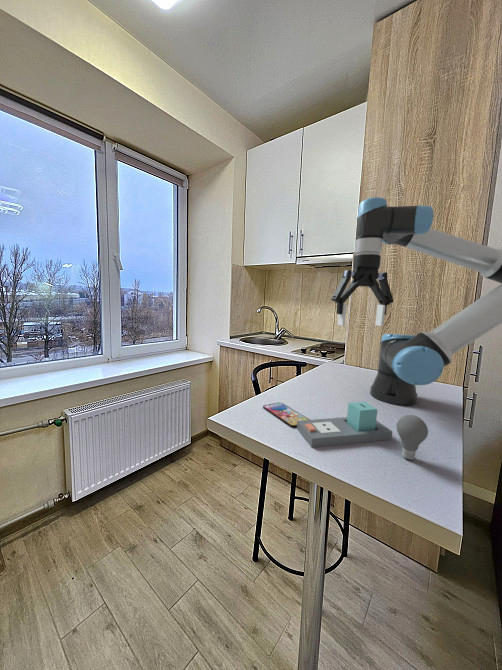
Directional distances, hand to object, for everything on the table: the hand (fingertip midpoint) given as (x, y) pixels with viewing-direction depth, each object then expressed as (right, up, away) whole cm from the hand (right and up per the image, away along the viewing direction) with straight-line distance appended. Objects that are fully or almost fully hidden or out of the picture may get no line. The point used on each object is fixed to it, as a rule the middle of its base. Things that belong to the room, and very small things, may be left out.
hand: (360, 325), depth 85 cm
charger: (-5, -28, -13) cm, 32 cm away
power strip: (-10, -29, -14) cm, 34 cm away
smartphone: (-24, -27, -4) cm, 36 cm away
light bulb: (+1, -31, -23) cm, 39 cm away
